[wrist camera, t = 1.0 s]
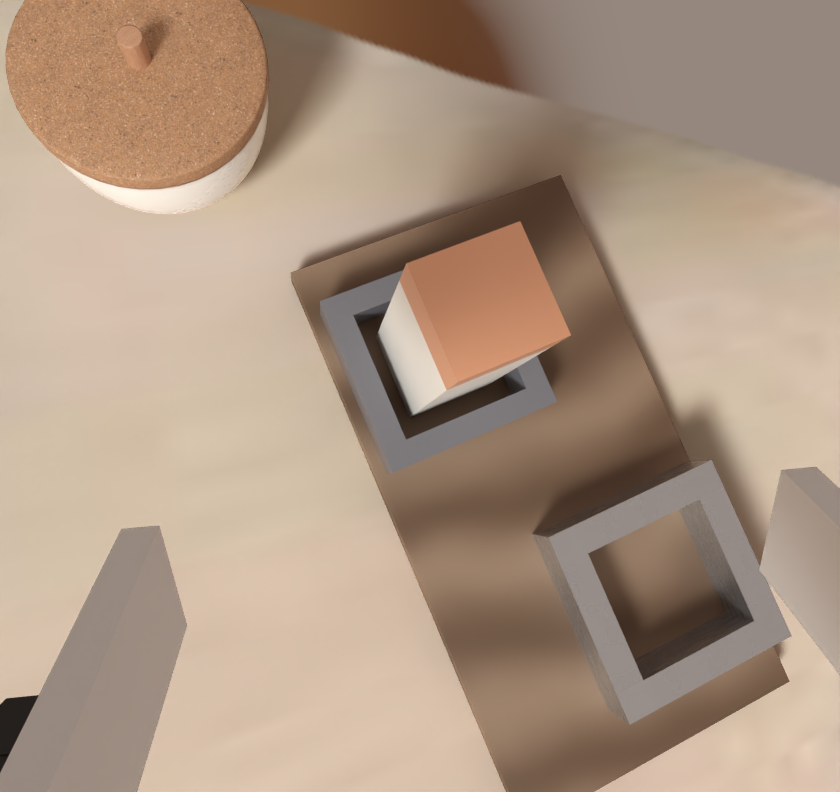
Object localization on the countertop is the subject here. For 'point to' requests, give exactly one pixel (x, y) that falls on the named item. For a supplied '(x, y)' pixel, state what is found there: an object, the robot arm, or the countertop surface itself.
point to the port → (727, 569)
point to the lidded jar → (143, 95)
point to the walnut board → (542, 514)
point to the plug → (468, 318)
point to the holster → (374, 403)
